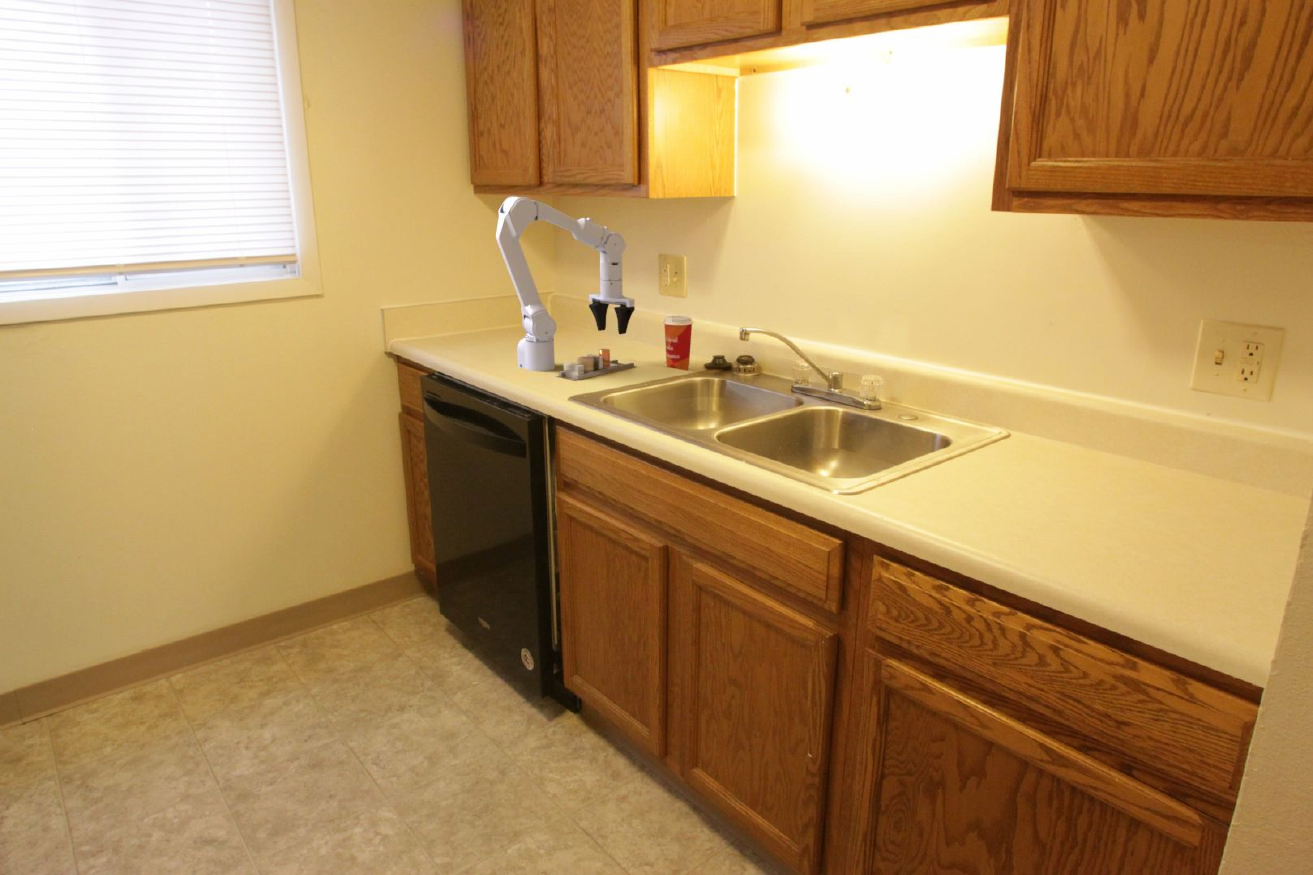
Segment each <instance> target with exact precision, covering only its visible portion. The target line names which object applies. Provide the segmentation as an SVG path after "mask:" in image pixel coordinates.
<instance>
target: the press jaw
mask: <svg viewBox="0 0 1313 875" xmlns="http://www.w3.org/2000/svg"><path fill="white" fill-rule="evenodd" d="M586 357H593V358H594V371H597V370H602V369H606V368H610V367H615V366H619V365H617V364H612V363H610V361H611V349H610V348H600V349H598V355H597V354H586Z"/></svg>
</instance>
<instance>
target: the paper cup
mask: <svg viewBox="0 0 1313 875" xmlns="http://www.w3.org/2000/svg"><path fill="white" fill-rule="evenodd" d="M662 323H663V324H664V338H665V339H664V341H665V357H666V358H665V359H666V361H665V362H666V367H667V368H670V369H675V370H681V371H686V372H687V371H690V370H689V368H690V358H691V357H690V356H691V344H692V329H693V327H692V326H693V324H694V321H693V319H692V316H689V315H688V316H687V315H671V316H670V315H669V316H665V317H664V321H662Z"/></svg>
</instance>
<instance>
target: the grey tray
mask: <svg viewBox="0 0 1313 875" xmlns="http://www.w3.org/2000/svg"><path fill="white" fill-rule="evenodd" d="M618 361H619V360H618V359H613V360H611V359H610V363H612V364H617V365H619V366H615V367H610V368H606V369H602V370H597V371H593V372H588V373H584V365H579V364H577V363H574V362H567V363H566V362H565V363H563V370H561V371H558V375H555V378H559V379H560V378H561V379H564V380H567V381H568V380H569V381H573V382H577V381H581V380H586V379H589V378H594V377H598V376H603V375H607V374H613V373H615V372H620V371H624V370H628V369H629V370H630V369H633V368H637V367H638V366H637V365H635V363H634V362H628V363H621V362H618Z"/></svg>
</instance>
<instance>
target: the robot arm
mask: <svg viewBox="0 0 1313 875" xmlns="http://www.w3.org/2000/svg"><path fill="white" fill-rule="evenodd" d="M533 221H539V222H540V221H545V222H547V223H550V224H552V225H555V226H557V227H559V228H562V229H564V230H566V231H568V232H571V234H572V236H573V237H572V238H573V239H574V240H576V241H578V242H579V243H582V244H584V245H585V246H586V245H587V246H589V247H591V248H593V249H594V250H597V251H598V252H599V257H600V258H599V277H600V278H599V282H600V283H599V285H600V294H599V293H598V294H597V293H592V294H589V304H588V307H589V309H590V311H591V313H592V315H593V318H594V320H595V323H596V327H597V330H598V331H599V332H600V331H605V330H606V329H607V328H606V327H607V315H608V314H607V313H608V309H609V305H615V306H616V307H613V309H614V312H615V315H616V319H617V320H616V321H617V332H618V334H619V335H624V334H627V330H628V328H629V327H628V326H629V322H630V319H631V317H632V315H633V313H634V311H635V310H636V308H635V298H630V297H626V296H625V295H624V294H623V253H624V252H625V250H626V248H627V247H626V246H627V244H626V242H625V239H624V237H623V236H622V234H620V233H618V232H612V231H610V227H608V226H601V225H600V224H598V223H595V222H594V219H593V218H591V217H587V218H585V217H582V218H578V219H575V218H573V217H571V216H569V215H567V214H566V213H564V212H562V211H561V210H558V209H556V208H554V207H552V206H550V205H549V204H547V203H544V202H542V201H538V200H533V199H531V198H529V197H527V196H526V197H525V196H521V197H519V196H515V195H511V196H508V197H507V198H505V200H504V201H503V203H502V204H501V206H500V208H499V209H498V220H497V227H496V231H495V232H496V233H495V239H496V243H497V245H498V247H499V250H500V253H501V255H502V258H503V261H504V264H505V266H506V269H507V271H508V273H509V276H510V278H511V282H512V284H513V287H514V290H515V293H516V295H517V297H518V300H519V303H520V307H521V308H520V312H521V314H522V328H523V330H524V331H525V332H526V334H525V337H523V338H522V339H520V340H519V341H518V344H517V347H516V348H517V349H516V350H517V351H516V353H517V354H516V355H517V367H518V368H521V369H525V370H527V371H531V372H548V371H553V370H554V369H556V366H555V365H556V362H555V359H556V358H555V334H556V332H557V323H556V321H555V320H554V318H552V316H551V315H550V314H549V312H548V310H547V308H546V306H545V305H544V303H543V301H542V300H541V297H540V295H539V292H538V289H537V287H536V284H535V281H534V279H533V276H532V273H531V270H530V267H529V265H528V262H527V259H526V256H525V253H524V251H523V249H522V246H521V243H520V238H521V237H522V235H523V232H524V231H525V229H526V228H527V227H528V226H529V225H530V224H532V223H533Z"/></svg>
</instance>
